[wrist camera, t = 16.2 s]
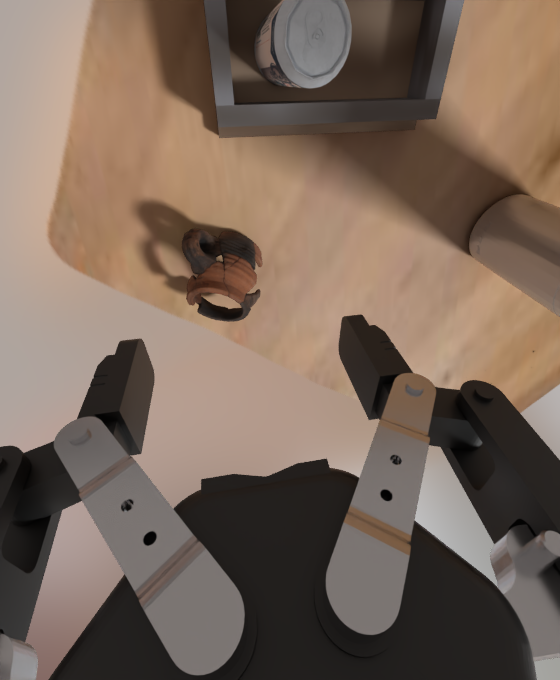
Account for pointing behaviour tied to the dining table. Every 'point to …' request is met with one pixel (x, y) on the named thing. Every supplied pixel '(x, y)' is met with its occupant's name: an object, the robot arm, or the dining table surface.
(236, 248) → the broken pottery vessel
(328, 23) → the beer can
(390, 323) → the dining table surface
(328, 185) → the dining table surface
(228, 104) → the frame
